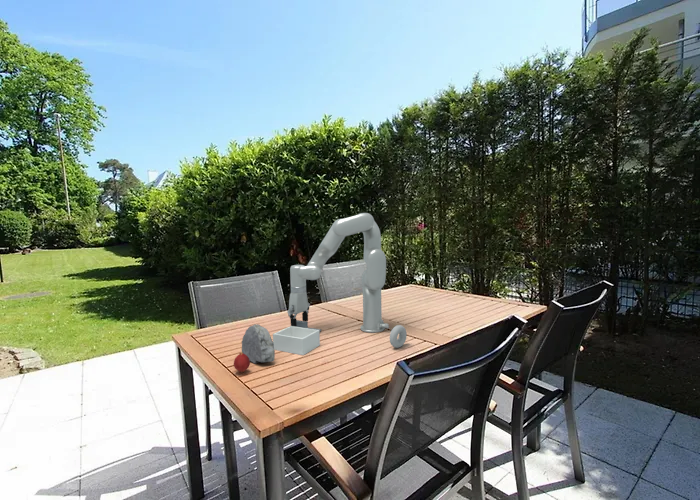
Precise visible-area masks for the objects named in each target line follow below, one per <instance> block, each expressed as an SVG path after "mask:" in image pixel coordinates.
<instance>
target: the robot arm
mask: <svg viewBox="0 0 700 500" xmlns="http://www.w3.org/2000/svg"><path fill="white" fill-rule="evenodd" d="M358 233H362V234H363V243H364V244H363V262H365V264H366V269H365V270H364V271H363V273H362V275H361V285H362V286H361V287H362V321H363V322H362V325H360V327H359V329H360V330H361V331H362V332H365V333H373V334H374V333H381V332H383V331H384V330H385V329H389V328H390V325H389V323H385V322H384V319H382V315H383V313H382V289H383V288H384V286H385V284H386V279H387V278H386V276H387V275H386V274H387V271H386V270H387V258H386V255H385V252H384V251H383V250H382V236H381V229H380V228H379V226H378V224H377V222H376V221H375V219H374V216H373V215H372V214H371V213H368V212H361V213H360V212H359V213H358V214H355V215H352V216H348V217H344V218H338V219H336V220H335V221H334V222H333V223H332V225H331V226H330V228H329V230H328V231H327V232H326V235H325V236H324V237H323V239H322V241H321V243H320V244H319V246H318V248H317V249H316V250H315V252H314V254H313V255H312V257H311V259H309V262H308V263H307V265H304V264H294V265H291V266H290V270H289V272H290V273H289V274H290V277H289V278H290V294H289V300H288V310H287V312H286V313H287V314H288V317H289V319H290V326H295V327H296V326H297V321H296V320H297V316H298V314H301V315H302V316H301V318H302V319H301V321H306V322H309V310H310V307H311V306H310V305H311V303H309V302H308V301H309V300H308V295H307V294H308V293H307V280H308V281H309V280H310V281H316V280H318V279H320V278H321V276H322V269H323V268H324V266H325V264H326V263H327V261H328V260H329V259H330V258H331V257H333V256H334V255H335V254H336V253H337V251H338V249H339V248H340V246H341V243H342V242H343V241H344V240H345V238H346V237H348V236H351V235H356V234H358Z"/></svg>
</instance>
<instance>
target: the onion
mask: <svg viewBox="0 0 700 500" xmlns="http://www.w3.org/2000/svg"><path fill="white" fill-rule="evenodd" d="M250 365H251V361H250V360H249V358H248V356H247V355H245V354H243V353H242V351H240V352H239V354H238V355H237V356H236V357H235V358H234V360H233V368H234V369H235V370H236V371H237V372H239V373H241V374H242V373H245V372H246V371H247V370H248V369H249V366H250Z"/></svg>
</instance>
